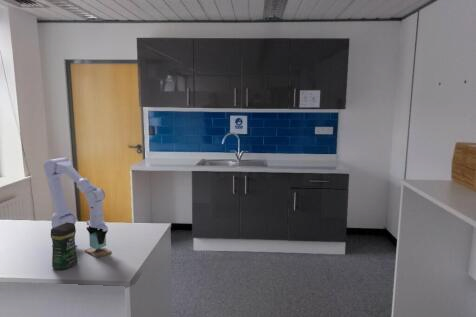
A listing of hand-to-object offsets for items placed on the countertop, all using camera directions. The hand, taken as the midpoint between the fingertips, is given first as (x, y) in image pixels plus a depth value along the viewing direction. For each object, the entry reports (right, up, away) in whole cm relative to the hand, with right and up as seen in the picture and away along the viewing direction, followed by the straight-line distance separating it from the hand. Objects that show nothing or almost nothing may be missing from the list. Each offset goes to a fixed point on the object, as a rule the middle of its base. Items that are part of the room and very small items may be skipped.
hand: (97, 242), depth 155 cm
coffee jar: (-9, -7, -13) cm, 17 cm away
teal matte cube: (0, -2, 0) cm, 2 cm away
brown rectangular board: (0, -5, +1) cm, 5 cm away
